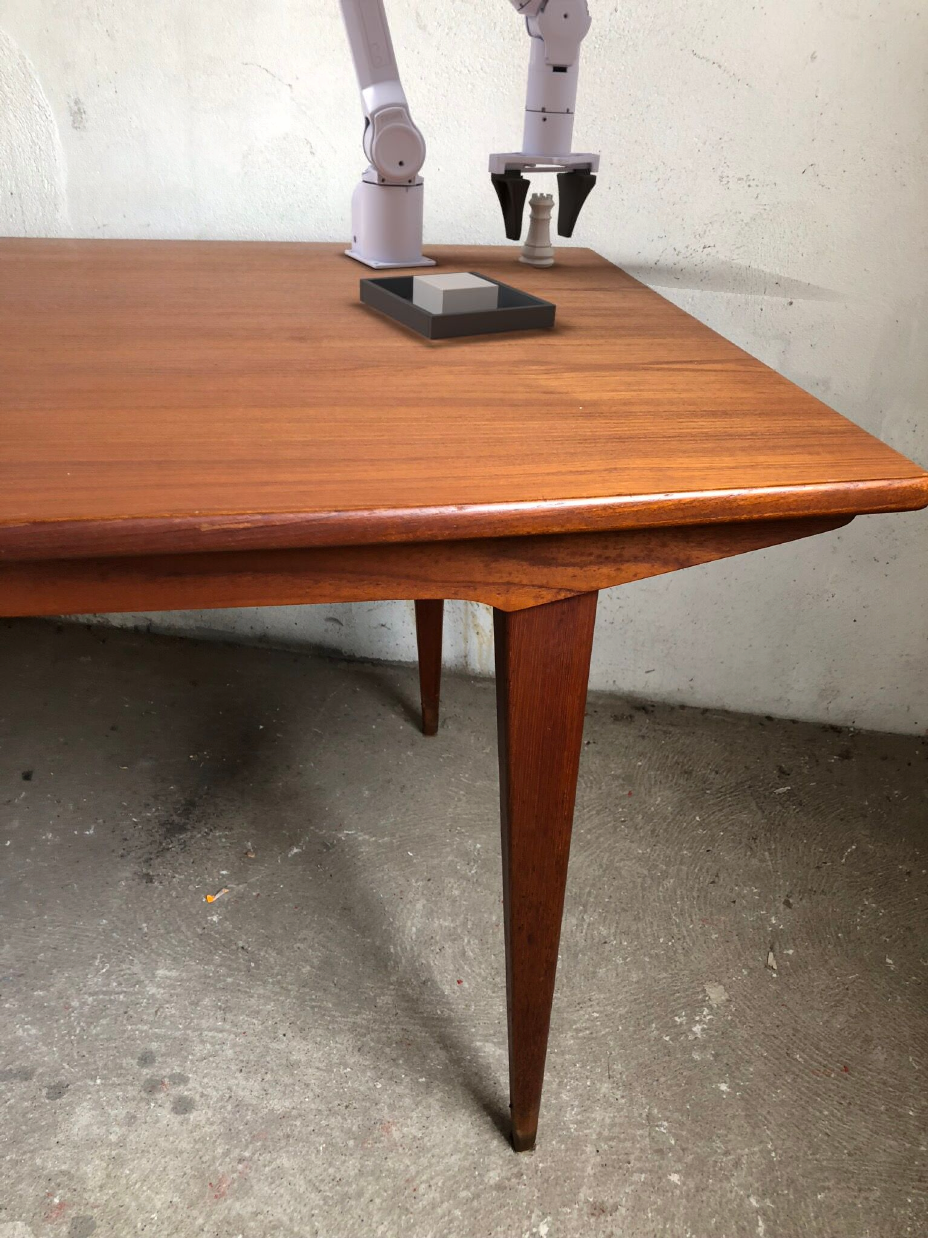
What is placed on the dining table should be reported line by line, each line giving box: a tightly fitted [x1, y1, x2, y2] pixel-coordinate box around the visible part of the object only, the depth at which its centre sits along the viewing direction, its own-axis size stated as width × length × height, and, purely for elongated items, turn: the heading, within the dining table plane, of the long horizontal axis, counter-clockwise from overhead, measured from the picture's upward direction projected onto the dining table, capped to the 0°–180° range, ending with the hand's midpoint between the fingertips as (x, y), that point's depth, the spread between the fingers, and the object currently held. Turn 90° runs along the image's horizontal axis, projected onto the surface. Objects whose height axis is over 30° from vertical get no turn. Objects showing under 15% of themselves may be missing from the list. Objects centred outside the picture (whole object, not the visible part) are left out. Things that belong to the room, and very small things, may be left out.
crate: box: [359, 270, 557, 341], centre depth 88 cm, size 15×13×3 cm
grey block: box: [413, 271, 498, 314], centre depth 87 cm, size 6×6×3 cm
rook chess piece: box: [518, 192, 556, 269], centre depth 111 cm, size 4×4×8 cm
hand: (538, 237), depth 112 cm, fingers open, 7 cm apart
